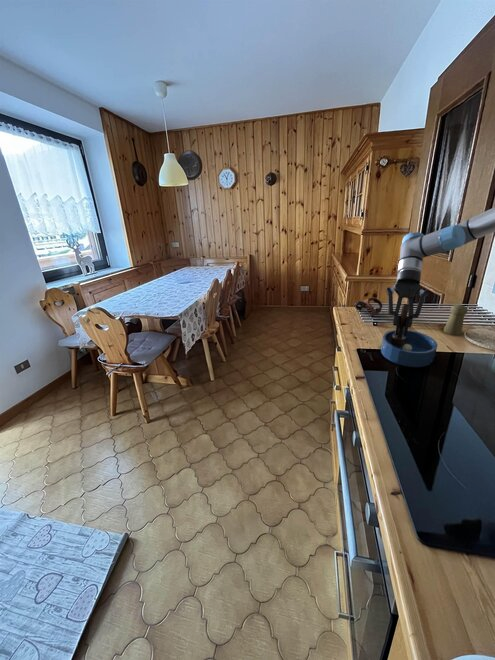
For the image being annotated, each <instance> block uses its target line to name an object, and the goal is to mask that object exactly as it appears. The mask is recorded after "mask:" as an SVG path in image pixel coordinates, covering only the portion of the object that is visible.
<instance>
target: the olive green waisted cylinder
mask: <svg viewBox="0 0 495 660" xmlns="http://www.w3.org/2000/svg"><path fill="white" fill-rule="evenodd" d="M467 313H468V308H467V306H465V305H462V304H454V305H452V306H451V308H450V315H449V317H448V319H447V321H446V323H445V326H444V327H443V332H444V333H446V334H448V335H451V336H460V335H462V333H463V327H464V319H465V316H466V314H467Z"/></svg>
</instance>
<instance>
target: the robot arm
mask: <svg viewBox="0 0 495 660" xmlns="http://www.w3.org/2000/svg"><path fill="white" fill-rule="evenodd" d="M493 233H495V206H493V207H492V208H490V209H488V210H487V209H486V210H485V211H483V212H481V213H478V214H476V215H475V216H473V217H470V218H468V219H466V220H464V221H461V222H459V223H457V224H454V225H450V226H446V227H443V228H441V229H439V230H435V231H433V232H430V233H427V234H424V233H422V232H418V231H417V232H409V233H407V234H406V235H404V236H403V238H402V240H401V245H400V253H399V260H398V266H397V274H396V281H395V284H394V286H392V287H387V288H386V291H385V293H386V295H387V306H388V307H387V308H388V309H387V310H388V311H387V312H388V313H387V314H388V315H389V316H392V317H393V318H392V319H393V320H392V326H395V329H394V330H395V335H396V336H397V335H398V331H399V324H400V317H401V316H400V315H401V314H400V310H401V307H402V303H403V299H407V304H408V305H409V310H408V314H407V318H406V322H405V327H404V335H403V337H406V336H407V331H408V330H409V328H412V326H413V321H414V320H413V319H417V318H419V317H420V315H421V311H422V308H423V304H424V302H425V298H426V297H427V296H428V295H429V290H427V289H426V290H424V289H422V287H421V277H422V270H423V261H424V259H425V258H428V257H432V256H435V255H437V254H442V253H446V252H448V251H453V250H456V249H458V248H461V247H463V246H464V245H467V244H469V243H471V242H473V241H476V240H478V239H481V238H483V237H485V236H488V235H490V234H493ZM394 292H395V293H396V294H397V296H398V297H397V302H396V306H395V309H394V297H393V294H394ZM417 294H419V299H418V303H417V305H416V309H415V312H414V299H415V296H417Z"/></svg>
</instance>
